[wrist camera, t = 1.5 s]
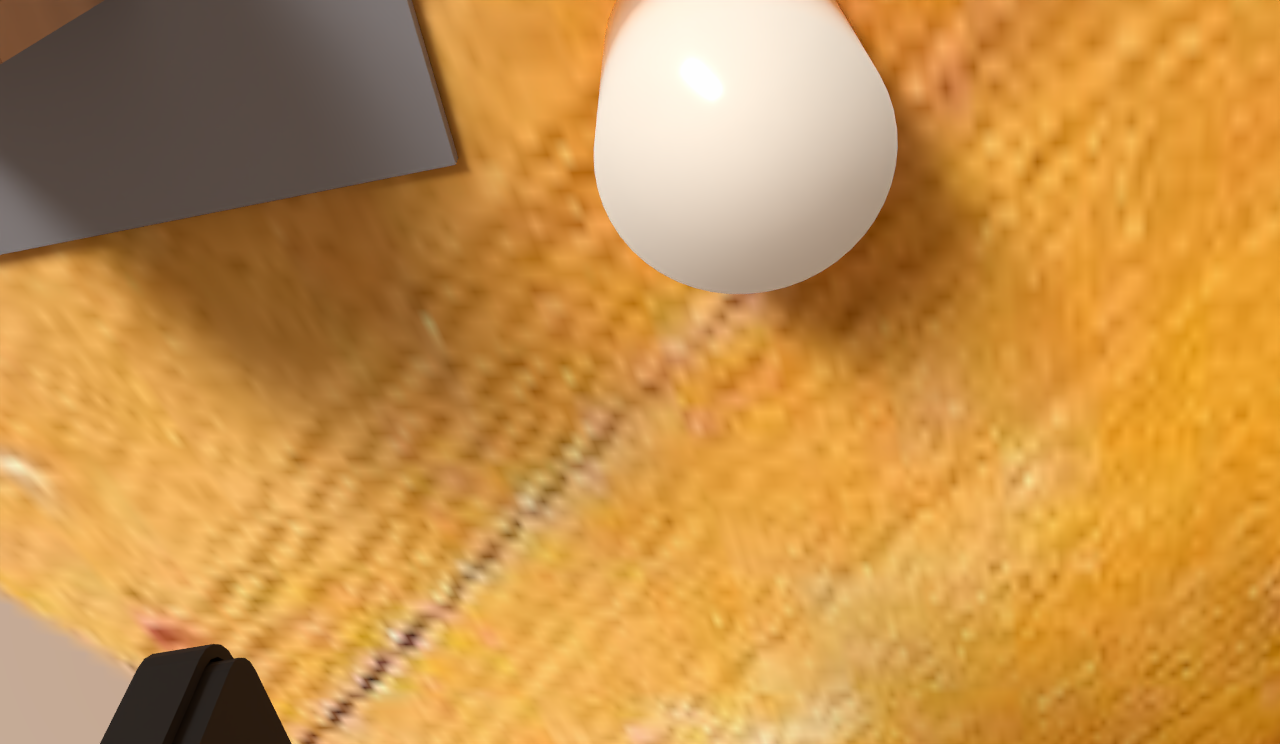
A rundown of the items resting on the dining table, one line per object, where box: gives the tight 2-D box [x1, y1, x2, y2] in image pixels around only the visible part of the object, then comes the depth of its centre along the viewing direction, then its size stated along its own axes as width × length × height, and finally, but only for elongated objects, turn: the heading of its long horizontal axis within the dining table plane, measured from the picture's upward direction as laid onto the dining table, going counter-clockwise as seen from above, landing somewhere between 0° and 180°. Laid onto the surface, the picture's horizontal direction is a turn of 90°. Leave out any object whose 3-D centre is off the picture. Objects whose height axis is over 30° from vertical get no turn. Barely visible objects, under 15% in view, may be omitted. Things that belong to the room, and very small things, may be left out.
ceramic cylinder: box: [594, 0, 898, 294], centre depth 22 cm, size 5×5×6 cm
